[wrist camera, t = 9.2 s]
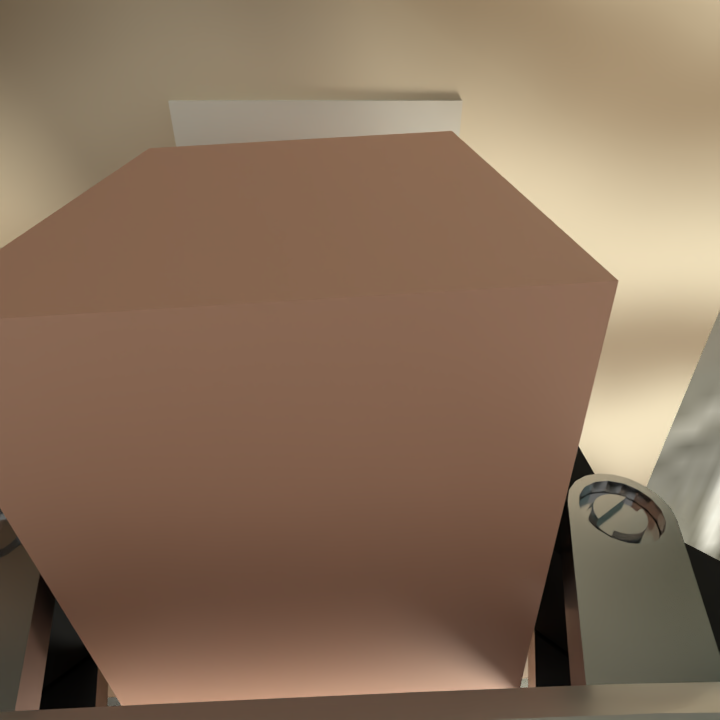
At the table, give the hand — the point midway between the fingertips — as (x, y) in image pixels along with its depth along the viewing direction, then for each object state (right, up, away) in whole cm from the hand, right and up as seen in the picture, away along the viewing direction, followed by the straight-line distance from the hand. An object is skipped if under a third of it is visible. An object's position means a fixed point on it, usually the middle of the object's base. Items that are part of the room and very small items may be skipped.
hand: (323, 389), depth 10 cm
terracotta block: (0, +1, +1) cm, 1 cm away
